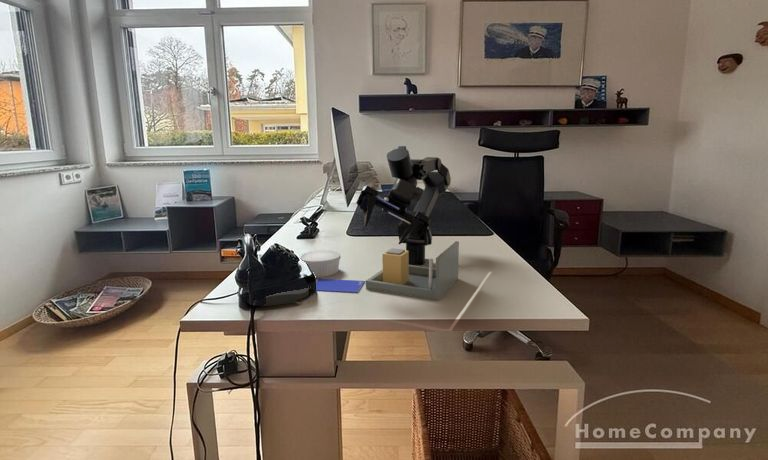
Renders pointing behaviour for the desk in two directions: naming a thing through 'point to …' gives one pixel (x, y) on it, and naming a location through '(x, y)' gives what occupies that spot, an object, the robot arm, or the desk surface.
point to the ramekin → (322, 262)
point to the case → (424, 277)
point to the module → (396, 266)
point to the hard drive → (339, 285)
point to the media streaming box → (286, 297)
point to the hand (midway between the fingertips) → (382, 234)
